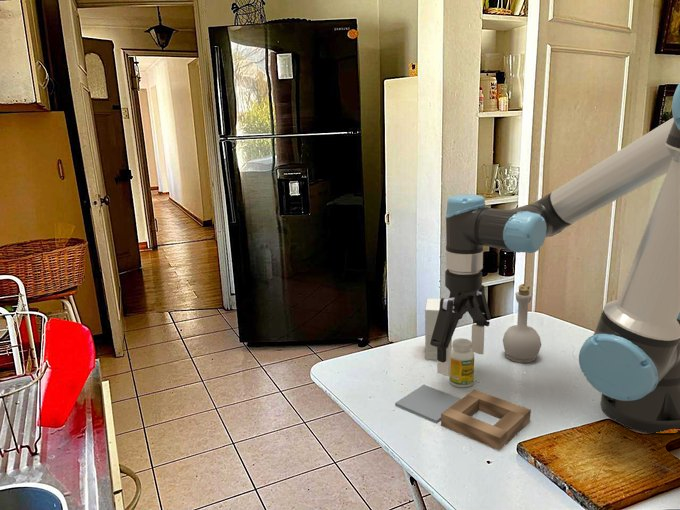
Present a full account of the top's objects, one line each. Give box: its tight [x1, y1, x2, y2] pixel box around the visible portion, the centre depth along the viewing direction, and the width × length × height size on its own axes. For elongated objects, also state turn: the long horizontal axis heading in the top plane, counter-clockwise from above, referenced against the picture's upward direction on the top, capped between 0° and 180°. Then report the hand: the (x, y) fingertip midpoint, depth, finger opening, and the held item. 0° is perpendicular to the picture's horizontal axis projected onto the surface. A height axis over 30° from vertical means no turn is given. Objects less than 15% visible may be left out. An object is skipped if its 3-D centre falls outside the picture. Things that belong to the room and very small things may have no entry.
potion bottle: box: [502, 283, 542, 364], centre depth 124 cm, size 9×9×18 cm
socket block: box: [440, 389, 532, 451], centre depth 99 cm, size 12×12×2 cm
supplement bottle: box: [448, 338, 475, 388], centre depth 114 cm, size 5×5×10 cm
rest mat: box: [394, 384, 462, 424], centre depth 107 cm, size 10×10×1 cm
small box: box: [424, 298, 453, 361], centre depth 128 cm, size 8×6×13 cm
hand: (461, 363), depth 114 cm, fingers open, 13 cm apart
